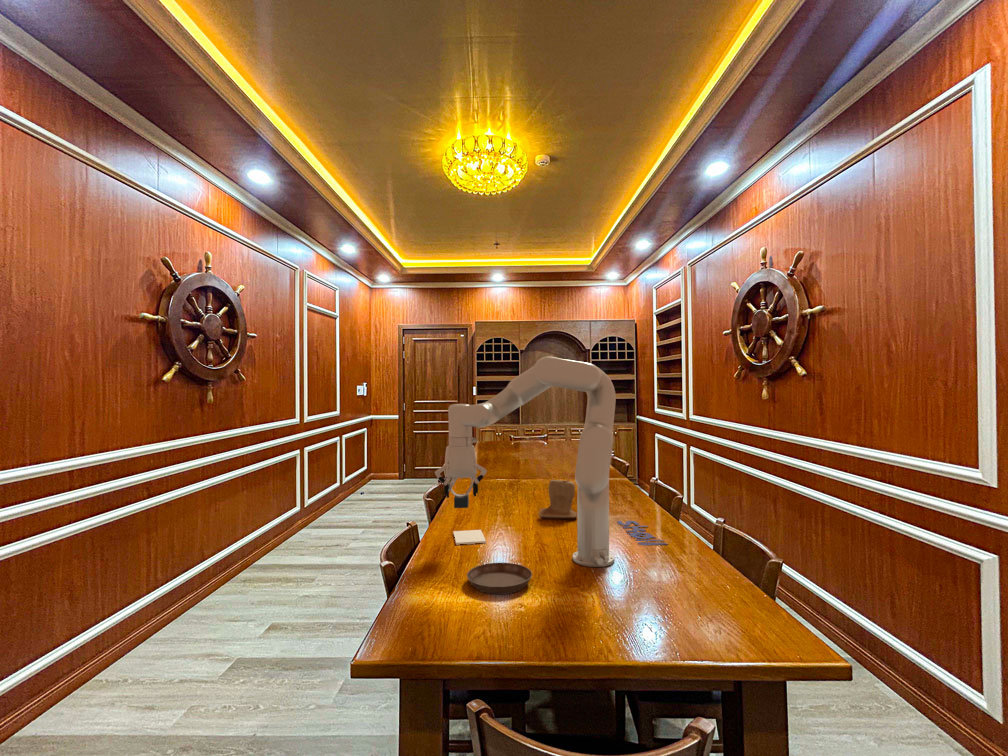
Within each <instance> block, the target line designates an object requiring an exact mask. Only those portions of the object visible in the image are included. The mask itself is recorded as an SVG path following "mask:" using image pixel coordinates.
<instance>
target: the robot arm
mask: <svg viewBox="0 0 1008 756" xmlns="http://www.w3.org/2000/svg"><path fill="white" fill-rule="evenodd" d="M552 387H555V388H561V389H567V390H573V391H577V392H578V391H579V392H585V394H586V396H587V404H586V413H585V420H584V426H583V429H582V430H581V433H580V436H579V441H578V449H577V457H576V465H575V473H574V479H575V483H576V485H577V486H576V487H577V489H576V490H577V494H576V495H577V497H576V498H577V500H576V503H577V504H576V505H577V507H576V509H577V512H576V513H577V517H576V518H577V524H576V525H577V526H576V527H577V529H576V530H577V538H576V539H577V551H575V552H574V553H573V554H572V561H573V562H575V563H576V564H578V565H581V566H584V567H591V568H602V567H607V566H608V567H609V566H611V565H612V564H614V563H615V556H614V555H613V554H612V553H610V517H609V516H610V469H611V463H612V462H611V461H612V456H613V454H612V453H613V446H614V421H615V411H616V404H617V403H616V402H617V401H616V399H617V398H616V397H617V396H616V390H615V387H614V384H613V382H612V380H611V378H610V377H609V376H608V374H606V373H605V371H603V370H602V369H601V368H600V367H598V366H596V365H595V364H593V363H590V362H584V361H577V360H572V359H565V358H564V359H563V358H560V357H559V358H558V357H554V356H549V355H548V356H543V357H541V358H539V359H538V360H537V361H536V362H535V363H534V365H533V366H531V367H530V368H529V369H527V370H525V371H524V372H522V373H520V374H519V375H517V376H515V377H514V378H513V379H511V381H509V382H508V384H507V386H506V387H505V388H503V390H501V391H500V392H499V393H497V394H496V395H495V396H492V398H490V399H489V400H487V401H484V402H482V403H476V404H469V403H468V404H467V403H454V404H453V403H452V404H450V405H449V406H448V446H446V447H445V456H444V465H443V466H441V467H439V468H438V469H436V470H435V471H434V475H435V476H436V478H437V479H438V481H439V482H440V483H441V484H442V485H443V493H444V496H446V498H447V499H448V498H450V486H449V483H450V481H451V479H452V478H457V479H466V478H470V477H472V479H473V487H472V495H473V497H477V494H479V483H480V482H481V481H482V480H483V479H484V476H486V474H487V472H488V470H487V469H486V468H485V467H483V466H481V465H480V464H478V463H477V456H476V449H475V445H473V444H474V443H477V441H478V440H477V437H473V428H485V427H488V426H491V425H493V424H495V423H497V422H498V421H499V420H501V419H503V418H505V417H506V416H507V415H509V414H511V413H512V412H514V411H516V409H518V408H520V407H522V406H524V405H525V404H527V403H528V402H530V401H531V400H533V399H534V398H535V397H538V396H539V395H540V394H542V393H543V392H545V391H547V390H548V389H550V388H552ZM478 471H480V474H479V475H478V476H477V474H478ZM442 472H444V475H445V476H446V477H445V478H444V476H442V475H441V473H442Z"/></svg>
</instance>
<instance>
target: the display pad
mask: <svg viewBox="0 0 1008 756" xmlns="http://www.w3.org/2000/svg"><path fill="white" fill-rule="evenodd" d="M452 534H453V537H455V538H454V541H455V544H456V546H461V545H460V544H467V545H476V544H475V543H483V544H487V541H486V538H485V536H484V534H483V531H482V529H471V530H455V531H454V530H453V532H452Z"/></svg>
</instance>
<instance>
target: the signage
mask: <svg viewBox="0 0 1008 756" xmlns="http://www.w3.org/2000/svg"><path fill="white" fill-rule="evenodd" d="M616 522H617V525H619V524H620V526H621V525H624V526H622V527H623V528H622V529H631V530H626V531H627V532H633V533H627V532H626V534H627V535H628V534H629V535H628V536H630V538H632V537H634V538H633V539H635V538H637V539H635V540H636V541H647V542H637V545H639V546H640V545H643V546H669V543H667V542H648V541H664V539H657V537H655V536H653V534H651V533H650V532H649V533H648V532H646V531H647V530H646V528H639V527H648V526H647V525H640V522H637V521H636V520H626V521H625V523H623V520H617V521H616ZM630 524H631V525H630ZM632 524H635V525H639V526H635V525H632ZM629 525H630V526H631V527H629ZM627 526H628V527H627ZM632 528H633V529H632ZM637 531H639V532H637ZM641 534H644V535H641ZM646 535H647V536H646ZM640 536H645V537H640ZM649 538H651V539H649ZM655 538H656V539H655ZM641 539H643V540H641ZM644 539H647V540H644ZM636 541H635V542H636Z"/></svg>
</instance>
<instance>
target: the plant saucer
mask: <svg viewBox="0 0 1008 756" xmlns="http://www.w3.org/2000/svg"><path fill="white" fill-rule="evenodd" d="M532 577H533V571H532V570H531V569H530V568H528V567H526V566H524V565H522V564H518V563H512V562H490V563H485V564H481V565H476V566H474V567H473V568H471V569H469V570H468V572H467V573H466V578H467V580H468V581H469V583H470V584H471V585H472V586H473V588H475V589H476V590H478V591H479V590H480V591H479V592H482V593H485V592H486V594H490V593H492V595H506V593H507V594H511V593H512V592H513V593H516V592H518V591H520V590H522V589H523V588H525V587H526V586H527V585H528V583H530V580H531V578H532Z"/></svg>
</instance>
